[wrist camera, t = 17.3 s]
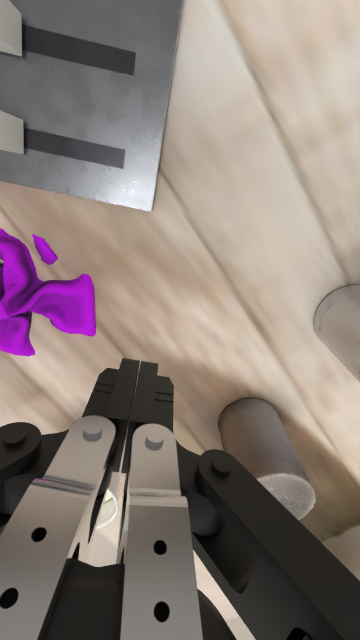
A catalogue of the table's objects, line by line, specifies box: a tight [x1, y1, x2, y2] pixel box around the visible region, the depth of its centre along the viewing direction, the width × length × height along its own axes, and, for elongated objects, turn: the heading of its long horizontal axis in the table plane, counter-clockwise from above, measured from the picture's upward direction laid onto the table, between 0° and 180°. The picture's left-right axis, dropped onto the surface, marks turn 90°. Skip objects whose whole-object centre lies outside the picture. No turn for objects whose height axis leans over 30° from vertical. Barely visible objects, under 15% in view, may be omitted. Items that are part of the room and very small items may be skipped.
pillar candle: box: [218, 398, 316, 520], centre depth 42 cm, size 10×10×15 cm
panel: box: [0, 0, 184, 211], centre depth 29 cm, size 20×25×2 cm
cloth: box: [0, 229, 96, 356], centre depth 37 cm, size 22×19×6 cm
